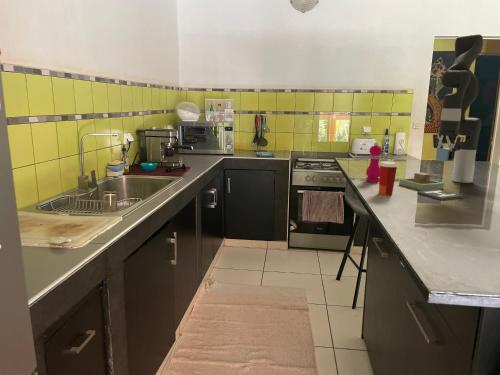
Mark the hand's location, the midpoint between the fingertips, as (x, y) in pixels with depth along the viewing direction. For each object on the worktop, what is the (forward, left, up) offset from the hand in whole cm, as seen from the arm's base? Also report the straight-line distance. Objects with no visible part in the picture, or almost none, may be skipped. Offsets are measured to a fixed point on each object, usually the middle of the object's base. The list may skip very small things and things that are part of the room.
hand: (444, 159), depth 168 cm
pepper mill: (+7, -35, -16) cm, 39 cm away
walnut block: (-7, -16, -16) cm, 24 cm away
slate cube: (0, 0, 0) cm, 0 cm away
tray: (-7, -17, -16) cm, 24 cm away
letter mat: (0, 0, -16) cm, 16 cm away
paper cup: (+21, -11, -16) cm, 29 cm away
